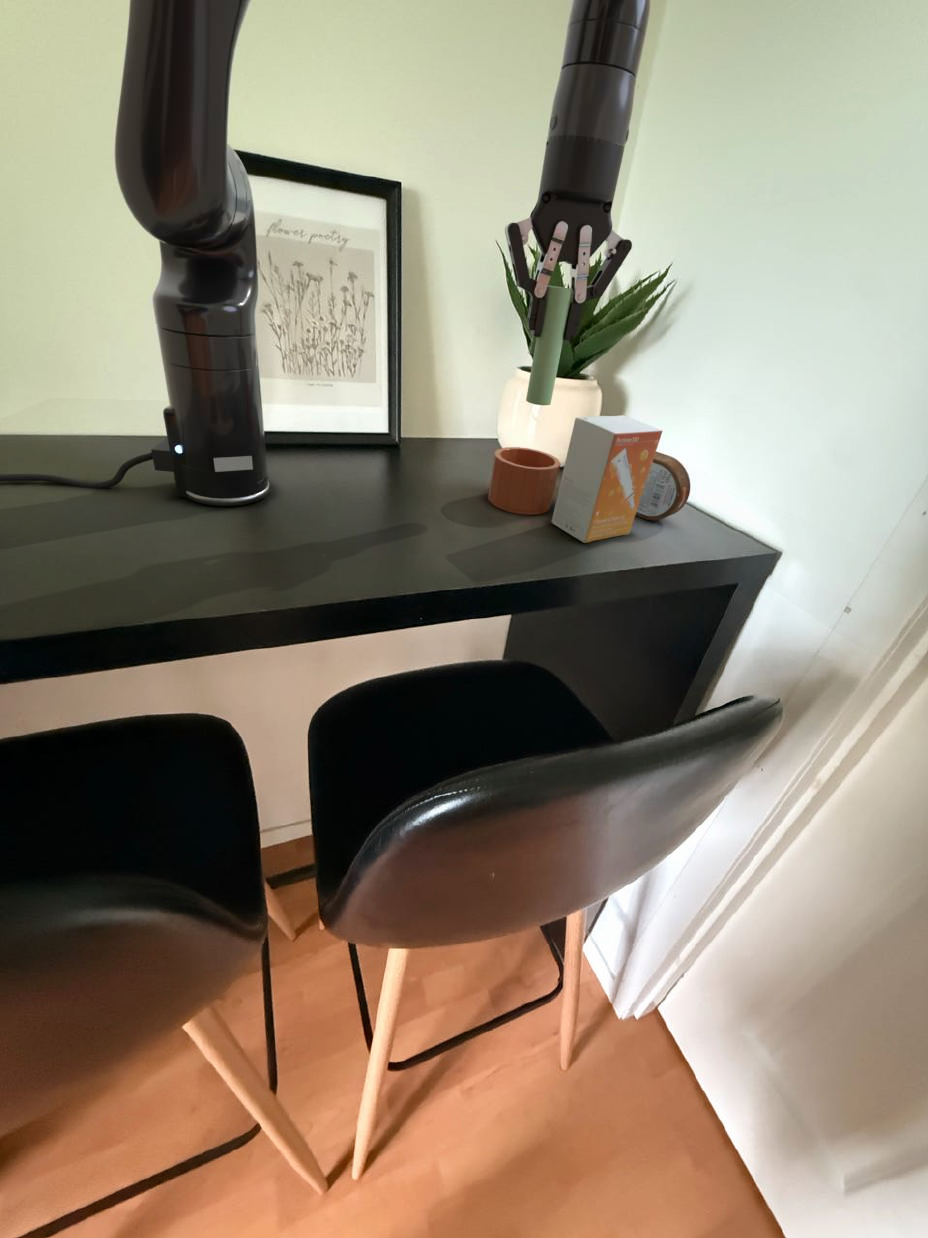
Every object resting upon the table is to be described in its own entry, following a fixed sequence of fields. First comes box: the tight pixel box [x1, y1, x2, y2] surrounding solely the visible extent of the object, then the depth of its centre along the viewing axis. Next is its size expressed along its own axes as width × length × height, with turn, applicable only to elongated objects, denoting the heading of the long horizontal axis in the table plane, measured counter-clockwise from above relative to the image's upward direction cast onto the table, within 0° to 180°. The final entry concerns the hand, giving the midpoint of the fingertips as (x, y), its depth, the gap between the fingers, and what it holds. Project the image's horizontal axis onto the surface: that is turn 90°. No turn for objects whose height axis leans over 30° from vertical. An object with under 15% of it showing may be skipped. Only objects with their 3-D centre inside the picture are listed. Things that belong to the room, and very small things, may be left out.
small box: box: [550, 414, 664, 544], centre depth 65 cm, size 8×6×13 cm
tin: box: [635, 450, 691, 521], centre depth 74 cm, size 15×3×8 cm, turn 47°
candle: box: [525, 284, 573, 406], centre depth 63 cm, size 3×3×12 cm
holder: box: [487, 446, 562, 516], centre depth 72 cm, size 8×8×6 cm
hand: (550, 336), depth 63 cm, fingers closed on candle, 3 cm apart
